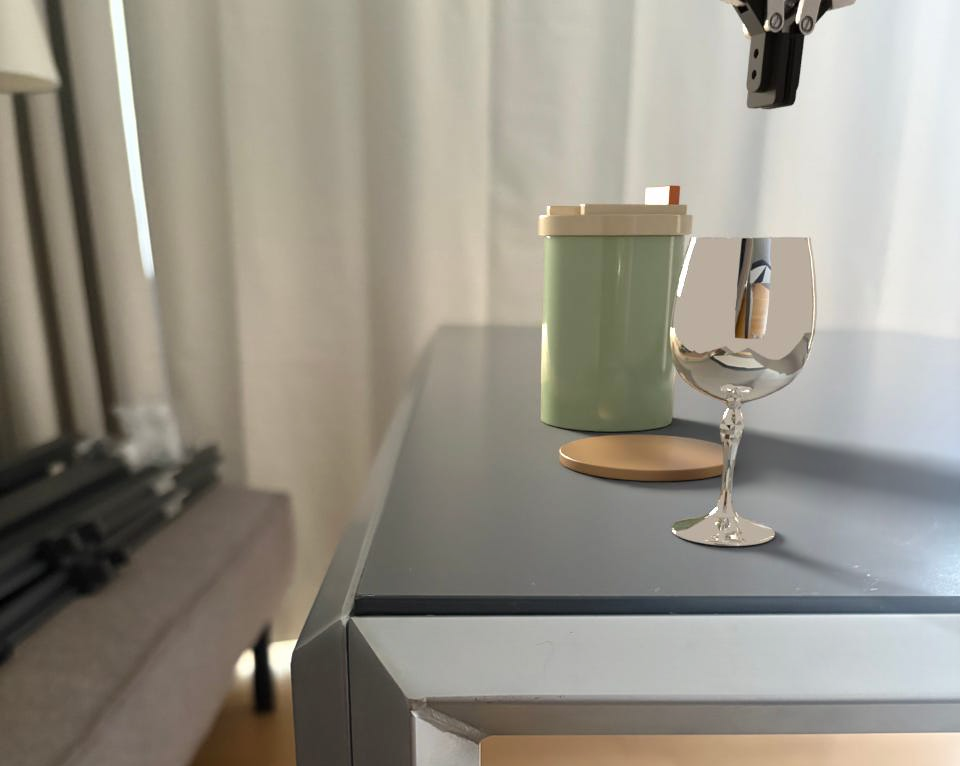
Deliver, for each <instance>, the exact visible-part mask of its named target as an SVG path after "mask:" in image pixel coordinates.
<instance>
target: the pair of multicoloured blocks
mask: <svg viewBox="0 0 960 766" xmlns="http://www.w3.org/2000/svg"><path fill="white" fill-rule="evenodd" d="M644 197H645V199H644V204H668V205H680V198H681V186H680V185H659V186H648V187H646V188H645V196H644Z"/></svg>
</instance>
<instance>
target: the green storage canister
mask: <svg viewBox="0 0 960 766" xmlns="http://www.w3.org/2000/svg"><path fill="white" fill-rule="evenodd" d="M687 210H688V204H679V205H668V204H645V203H644V204H643V203H628V204H627V203H581V204H580V205H548V206H546V214H543V215H542V214H541V215H538V217H537V235H538V236H543V259H542V261H543V266H542V307H541V308H542V313H541V314H542V315H541V359H540V360H541V361H540V363H541V365H540V408H539V409H540V412H539V419H540V420H541V422H542V423H544V424H546V425H549V426H552V427H556V428H561V429H566V430H573V431H584V432H597V433H598V432H599V433H625V432H642V431H650V430H657V429H661V428H664V427H667V426H670V425H671V424H672V423H673V419H674V418H673V417H674V403H675V390H676V377H677V370H676V368H675V366H674V363H673V360H672V355H671V351H670V334H669V327H670V317H671V310H672V304H673V298H674V293H675V289H676V285H677V280H678V277H679V273H680V269H681V266H682V262H683V259H684V256H685V252H686V249H685V247H686V236H692V235H693V226H694V225H693V224H694V215H693V214H687Z"/></svg>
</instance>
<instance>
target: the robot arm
mask: <svg viewBox="0 0 960 766" xmlns="http://www.w3.org/2000/svg"><path fill="white" fill-rule="evenodd" d="M720 1H721V2H724V3H725V4H730V5H732V7H733V9H734V10H735V13H736V14H737V16H738V18H739V19H740V21H741V22H742V31H743V35H744V37H745V38H746V39H748V40H750V44H749V53H748V64H747V73H746V84H745V85H746V90H747V95H746V107H747V108H748V109H755V110H757V109H761V110H775V109H780V108H787V107H792V106H793V105H795V102H796V98H797V93H798V92H797V91H798V88H799V87H800V86H799V85H800V79H801V78H800V77H801V71H802V60H803V54H804V45H805V44H804V43H805V36H809V35H811V34H812V33H813V32H814V30H815V28H816V24H817V23H818V22H819V20H821V18H823V16H824V15H825V14H826V13H827V12H831V11H834V10H839V9H843V8H847V7H850V6H852V5H854V4H855V3H856V1H857V0H720Z"/></svg>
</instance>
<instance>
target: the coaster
mask: <svg viewBox="0 0 960 766" xmlns="http://www.w3.org/2000/svg"><path fill="white" fill-rule="evenodd" d="M558 457H559V462H560V464H561V465H562V466H564V467H565V468H568V469H569V470H572V471H575V472H578V473H581V474H584V475H590V476H594V477H599V478H606V479H612V480H613V479H614V480H624V481H635V482H637V481H638V482H682V481H694V480H695V481H696V480H703V479H709V478H714V477H718V476H722V474H723V447H722V444H719V443H716V442H714V441H713V442H712V441H708V440H703V439H698V438H692V437H684V436H676V435H675V436H674V435H662V434H661V435H660V434H612V435H611V434H610V435H600V436H592V437H585V438H580V439H575V440H572V441H570V442H567V443H565V444H563V445H562V446H561V447H560V448H559V456H558ZM736 465H737V456H736V457H735V462H734V469H735V468H736Z"/></svg>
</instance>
